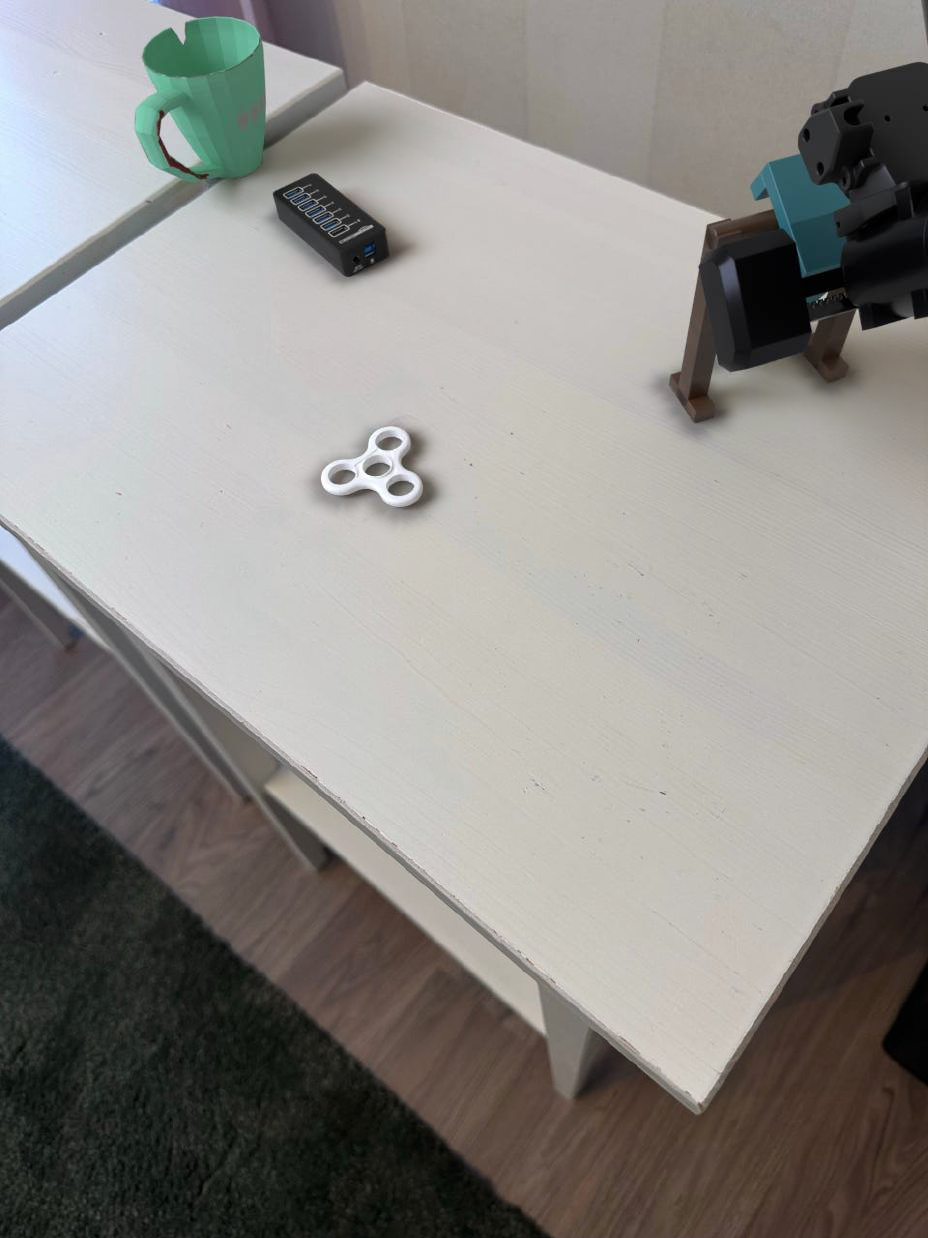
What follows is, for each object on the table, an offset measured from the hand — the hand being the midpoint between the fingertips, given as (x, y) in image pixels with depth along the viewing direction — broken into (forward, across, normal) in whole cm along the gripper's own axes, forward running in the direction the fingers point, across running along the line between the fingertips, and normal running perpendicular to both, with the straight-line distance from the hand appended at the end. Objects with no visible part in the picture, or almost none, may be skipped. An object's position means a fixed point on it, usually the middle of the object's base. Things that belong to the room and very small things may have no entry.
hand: (795, 293), depth 55 cm
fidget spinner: (+8, +27, +4) cm, 28 cm away
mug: (+36, +31, -24) cm, 53 cm away
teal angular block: (+9, 0, -1) cm, 9 cm away
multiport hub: (+27, +24, -15) cm, 39 cm away
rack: (+7, 0, +5) cm, 8 cm away
